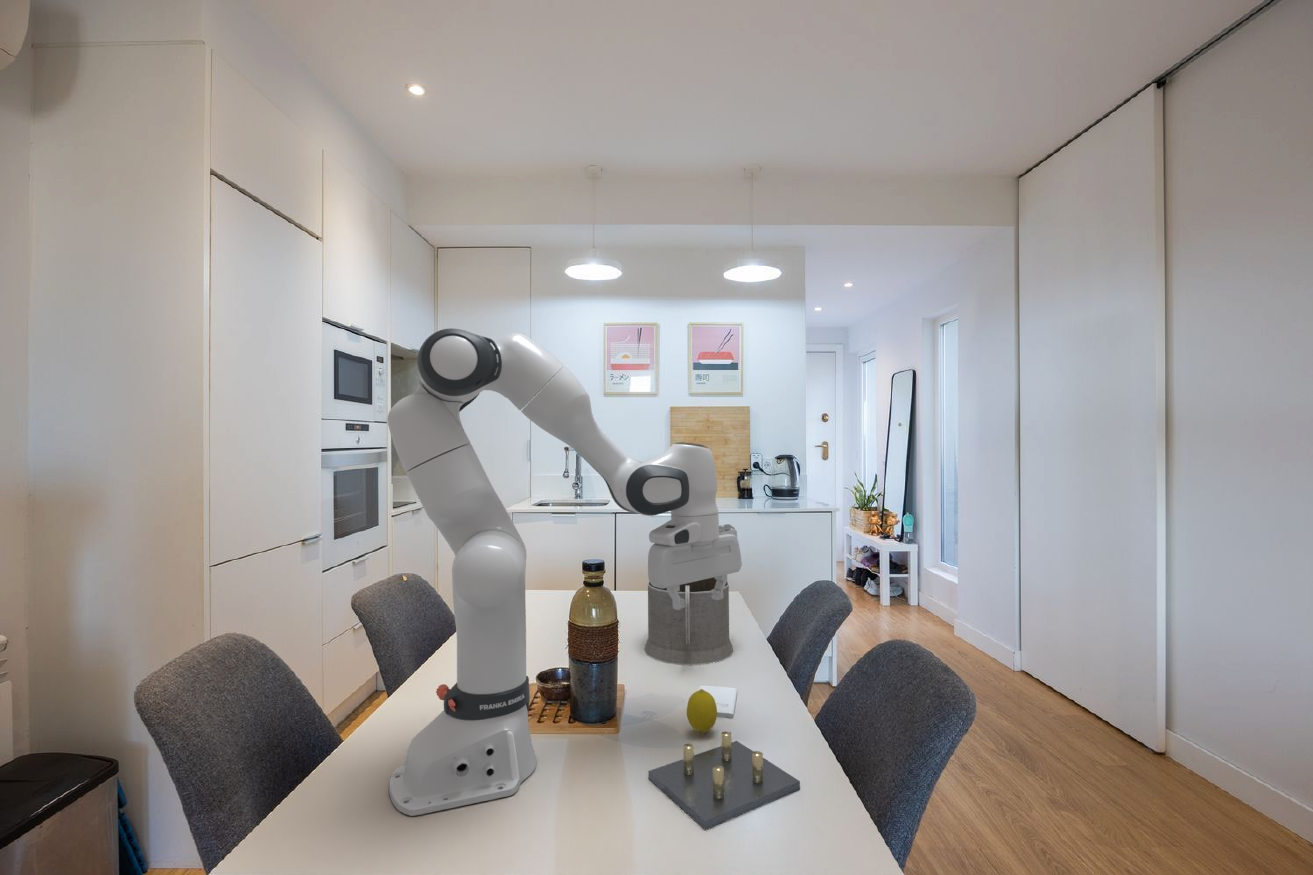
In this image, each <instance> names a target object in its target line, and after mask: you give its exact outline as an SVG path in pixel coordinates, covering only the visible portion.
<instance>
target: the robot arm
mask: <svg viewBox="0 0 1313 875" xmlns="http://www.w3.org/2000/svg"><path fill="white" fill-rule="evenodd" d="M417 353H418V354H417V373H418V374H417V376H418V383H419V384H418V387H417V389H416V390H415V391H414V392H413V393H412V394H409V395H407V396H404V397H403V398H401V399H399V400H398V401H397V402H396V403H395V404H394V405H393V406H392V407H391V408H390V410H389V411H388V415H387V425H388V426H387V427H388V429H389V432H390V436H391V440H392V444H393V445H394V449H395V451H396V454H397V456H398V458H399V461H400V463H401V465H402V467H403V470H404V472H405V474H406V475H407V478H408V480H409V481H410V483H411V486H412V488H413V489H414V491H415V494H416V496H417V497H418V500H419V502H420V503H421V505H422V507H423V509H424V511H425V514H426V515H427V517H428V519H430V520H431V522H432V523H433V524H434V525H435V526H436V528H437V529H438V531H439V532H440V534H441V535H442V537H443V538H444V540H445V541H446V543H447V544H448V546H449V548H450V549H451V551H452V552H453V554H454V556H455V557H454V559H453V562H452V567H451V578H452V579H451V582H452V583H451V584H452V600H453V601H452V602H453V611H454V612H453V614H454V621H455V631H456V683H455V684H454V685H453V686H452V687H451V688H450V687H449V686H448V685H447V684H445V683H443V684H442V683H441V684H439V686H438V687H437V688H435V689H436V691H435V693H436V696H437V698H438V699H439V700H441V701H443V711H442V712H440V713H439V714H438V715H437V716H436V717H435V718H434V719H432V720H431V721H430V723H428V724H427V725H425V726H424V727H423V728H422V729H421V730H420V731H419V732H418V733H417V734H416V735H415V736H413V738H412V739H411V741H410V743H409V745H408V748H407V752H406V756H405V757H406V758H405V763H404V764H403V765H401V766H398V767H396V769H395V770H394V771H393V772H392V774H391V775H390V778H389V779H390V780H389V785H388V786H389V787H388V792H389V797H390V799H391V803H392V804H393V806H394V807H395V808H396V809H397V811H399V812H401V813H402V814H405V815H406V816H410V817H414V816H421V815H425V814H429V813H433V812H435V813H436V812H440V811H443V810H444V811H445V810H449V809H453V808H454V809H455V808H459V807H463V806H467V805H472V804H477V803H481V802H486V801H492V800H497V799H500V798H506V797H511V796H513V795H514V794H516V792H517V791H518V789H520V786H521V783H523V781H524V780H526V779H527V778H528V777H529V776H531V774H532V773H533V772H534V770H535V769H536V767H537V762H538V761H537V756H536V753H535V750H534V747H533V742H532V737H531V731H530V723H529V714H528V711H530V700H531V699H530V698H531V689H530V680H529V676H528V675H527V614H526V613H527V609H526V608H527V607H526V606H527V605H526V566H527V549H526V545H525V543H524V540H523V538H522V537H521V535H520V534H519V531H518V529H517V527H516V525H515V524H514V522H513V521H512V519H511V517H510V515H509V513H508V511H507V509H506V507H505V506H504V504H503V502H502V501H501V499H500V497H499V495H498V494H497V492H496V490H495V489H494V487H493V484H492V483H491V481H490V479H489V477H488V475H487V473H486V470H485V469H484V467H483V465H482V463H481V460H480V459H479V456H478V455H477V453H476V450H475V448H474V446H473V445H472V443H471V440H470V439H469V437H468V435H467V433H466V432H465V429H464V427H463V424H462V421H461V417H460V412H461V411H463V409H465V408H466V407H467V406H469V405H470V404H471V403H473V402H474V401H475V400H476V398H477V397H478V396H479V395H480V394H481V392H483V391H491V392H492V391H493V392H495V393H497V394H500V395H501V396H503V397H504V398H507V400H509V402H511V403H512V404H513V406H514V407H516V409H517V410H519V411H520V412H521V413H522V414H523V415H524V416H525V417H527V419H529V421H531V422H532V423H534V424H535V425H536V426H537V427H539V428H540V429H542V430H543V431H545V432H546V433H548V434H550V435H551V436H552V437H554V438H555V439H556V438H557V439H558V440H559V441H560V442H563V443H565V444H566V445H567V446H569V447H570V448H572V449H573V450H574V452H576V453H577V454H578V455H579V456H581V458H583V459H584V460H585V462H587V463H588V464H589V465H590V467H591V468H593V470H595V471H596V472H597V473H598V474H599V475H600V476H601V478H602V479H603V480H604V482H605V484H606V486H607V488H608V490H609V494H610V496H611V498H612V500H613V501H614V502H615V504H616V505H617V506H618V507H619V508H620V509H622V510H623V511H626V512H629V513H634V514H635V513H636V514H638V515H642V516H647V517H649V516H650V517H654V516H658V515H660V514H663V513H664V514H665V513H668V512H670V515H671V516H670V520H668V521H666V522H664V523H663V524H662V525H660V526H658V527H656V528H655V529H652V530H651V531H649V534H648V539H649V542H650V543H651V544H652V545H651V546H650V548H649V550H648V555H647V579H648V582H650V583H651V584H652V586H654V587H657V588H662V589H664V588H667V592H668V593H669V595H670V597H671V598H672V601H673V608H674V609H676V610H680V609H684V608H685V605H684V604H685V599H682V598H680V596H679V594H678V592H677V591H680V585H682V584H686V583H691V582H695V581H700V580H704V579H709V578H713V577H715V579H716V580H717V581H716V584H715V588H714V589H712V590H711V593H712V599H715V600H719V599H723V590H724V587H725V585H726V582H727V580H728V575H731V574H735V573H739V572H740V571H741V569H742V565H743V563H742V553H741V548H740V544H739V540H738V531H737V529H735V527H734V526H733V525H732V524H729V523H727V524H724V525H720V523H719V522H720V520H719V509H718V507H717V502H716V497H717V493H718V492H717V491H718V480H717V472H716V471H717V470H716V462H715V459H714V458H715V457H714V455H713V451H712V450H711V449H710V448H709V447H708V446H706V445H704V444H698V443H693V442H682V441H681V442H674V443H672V445H671V446H670V447H669V448H667V449H666V450H664V451H663V452H661V453H659V454H658V455H656V456H654V457H653V458H650V459H648V460H646V461H643V462H642V461H640V460H636V459H633V458H631V457H629V456H628V455H627V454H625V452H623V450H622V449H621V448H620V447H619V446H617V444H616V443H615V442H614V441H613V440H612V439H611V438H610V437H609V436H608V435H607V434H606V433H604V431H603V430H602V429H601V428H600V427H599V425H598V423H597V421H596V420H595V418H594V414H593V411H592V406H591V399H590V395H589V393H588V392H587V390H586V389H585V388H584V386H583V385H582V383H581V382H580V381H579V379H578V378H577V377H576V376H575V375H574V374H573V373H572V372H571V370H569V368H568V367H566V366H565V365H564V364H563V363H562V362H561V361H560V360H559V359H558V358H556V356H554V355H553V354H552V353H551V352H550V351H548V350H547V349H546V348H544V346H542V345H541V344H539V343H538V342H536V341H535V340H533V339H532V338H530V337H529V336H528V335H525V334H524V333H520V332H512V333H508V334H505V335H502V336H501V337H500V338H498V339H497V340H496V341H494V339H492V338H490V337H487V336H483V335H479V334H475V333H472V332H471V331H467V330H463V329H459V328H451V327H449V328H444V329H443V328H442V329H440V330H437V331H435V332H434V333H432V334H430V335H429V336H428V337H427V338H426V339H425V341H423V343H422V344H421V346H420V348H419V349H418V352H417Z"/></svg>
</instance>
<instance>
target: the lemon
mask: <svg viewBox="0 0 1313 875" xmlns="http://www.w3.org/2000/svg"><path fill="white" fill-rule="evenodd" d="M698 690H699V689H698ZM698 690H697V691H695V692H693V693H692V694H691V695H690V696H689V698H688V702H687V705H686V706H687V707H686V718H687V720H688V723H689V725H690V726H691V728H692V729H693V730H695V731H697V732H698V733H700V735H701V734H702V735H703V734H705V733H706V732H707V731H708V732H709V730H711V729H712V728H713V727H714V725H715V724H716V720H717V718H718V717H717V707H716V703H715V700H714V698H713V696H712V695H711V694H710V693H708V692H706V691H704V690H703V689H700V690H699V691H698Z"/></svg>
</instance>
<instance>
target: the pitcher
mask: <svg viewBox="0 0 1313 875" xmlns="http://www.w3.org/2000/svg"><path fill="white" fill-rule="evenodd" d="M716 581H717V580H716V579H715V577H713V578H709V579H704V580H700V581H695V582H691V583H686V584H682V585H680V591H677V592H678V594H679V596H680V598H682V599H685V604H684V605H685V608H684V609H680V610H676V609H674V608H673V601H672V598H671V597H670V595H669V593H668V592H667V588H664V589H662V588H657V587H654V586H652V584H651V583H650V582H649V581H648V583H647V623H648V624H647V631H648V632H647V633H648V634H647V635H648V636H647V637H648V638H647V640H646V644H645V646H644V649H643V652H644V653H645V654H646V656H647V657H649V658H651V659H653V660H655V661H657V662H658V661H659V662H661V663H666V664H668V665H669V664H670V665H678V666H701V665H702V664H703V665H711V664H714V663H713V662H715V663H718V662H717V661H719V662H723V661H724V659H725V660H727V659H729V658H730V657H731V656H732V655H733V654H732V653H734V652H735V651H734V646H733V644H732V641H731V640H730V600H729V599H730V590H729V589H730V585H729V580H728V579H727V582H726V585H725V587H724V590H723V599H719V600H715V599H712V593H711V590H712V589H714V588H715V584H716ZM731 654H732V655H731ZM728 657H729V658H728ZM726 658H727V659H726ZM710 663H711V664H710Z"/></svg>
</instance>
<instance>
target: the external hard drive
mask: <svg viewBox="0 0 1313 875" xmlns="http://www.w3.org/2000/svg"><path fill="white" fill-rule="evenodd" d="M700 689H703V690H704V691H706V692H708V693H710V694H711V695H712V696H713V698H714V700H715V703H716V707H717V718H723V717H725V718H726V719H734V715H735V710H736V703H737V698H738V697H737V696H738V688H736V687H727V686H715V685H713V686H711V685H699V687H698V690H697V691H699V690H700Z"/></svg>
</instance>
